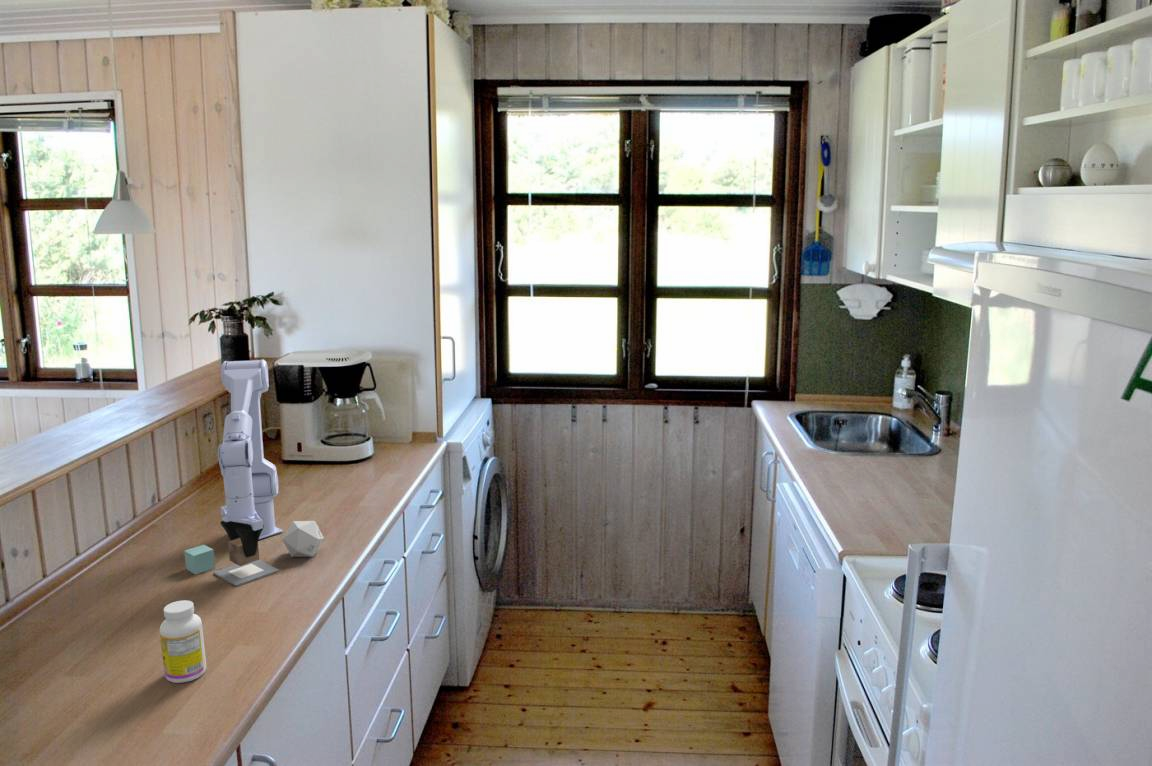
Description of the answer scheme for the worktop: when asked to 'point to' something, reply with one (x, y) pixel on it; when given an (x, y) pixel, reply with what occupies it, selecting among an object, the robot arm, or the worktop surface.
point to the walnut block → (240, 553)
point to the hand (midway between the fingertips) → (244, 552)
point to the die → (303, 539)
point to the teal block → (199, 559)
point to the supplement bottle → (182, 643)
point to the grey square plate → (245, 572)
